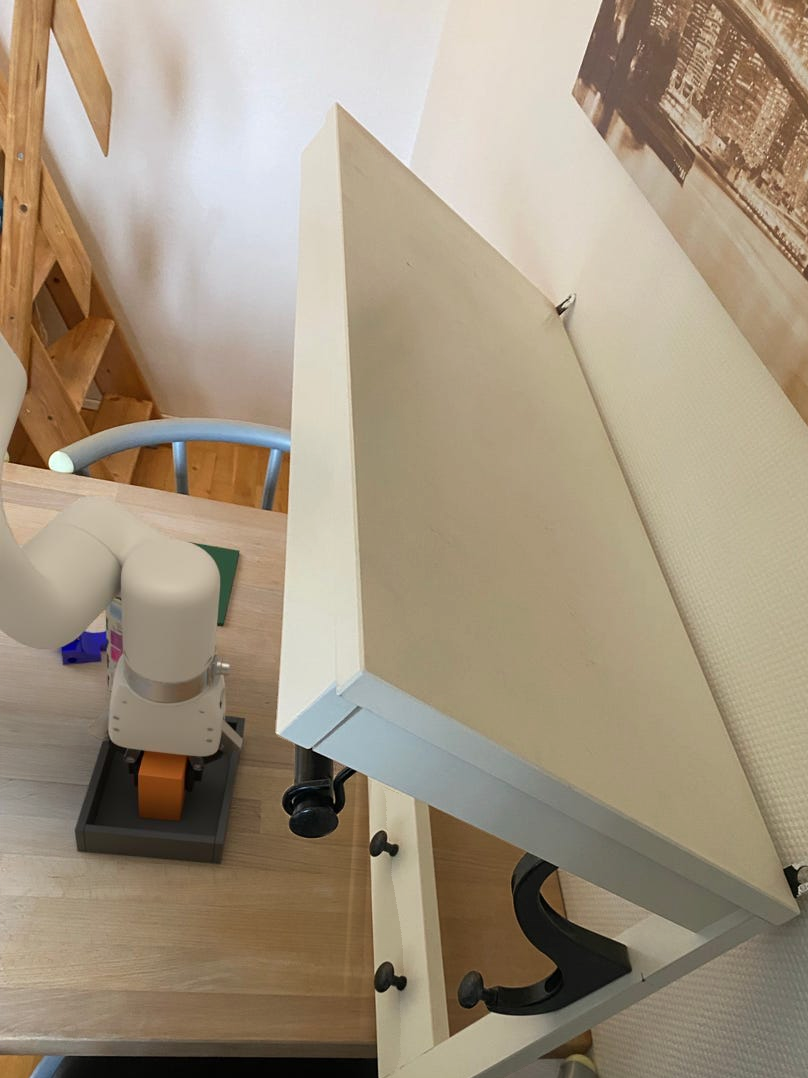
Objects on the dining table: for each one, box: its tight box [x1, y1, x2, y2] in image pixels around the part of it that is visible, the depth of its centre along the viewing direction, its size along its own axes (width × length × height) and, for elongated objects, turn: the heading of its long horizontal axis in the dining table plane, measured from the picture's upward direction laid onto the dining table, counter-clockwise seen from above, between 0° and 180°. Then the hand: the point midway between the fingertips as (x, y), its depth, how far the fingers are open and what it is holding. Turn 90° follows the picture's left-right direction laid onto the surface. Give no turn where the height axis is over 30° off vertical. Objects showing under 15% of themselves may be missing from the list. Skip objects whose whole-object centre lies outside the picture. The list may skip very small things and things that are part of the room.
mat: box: [188, 541, 240, 627], centre depth 110 cm, size 18×14×1 cm
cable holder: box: [60, 630, 107, 666], centre depth 98 cm, size 8×4×4 cm, turn 111°
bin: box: [74, 715, 246, 865], centre depth 88 cm, size 14×16×4 cm
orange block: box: [138, 751, 189, 821], centre depth 87 cm, size 4×7×8 cm, turn 3°
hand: (166, 776), depth 88 cm, fingers open, 4 cm apart
